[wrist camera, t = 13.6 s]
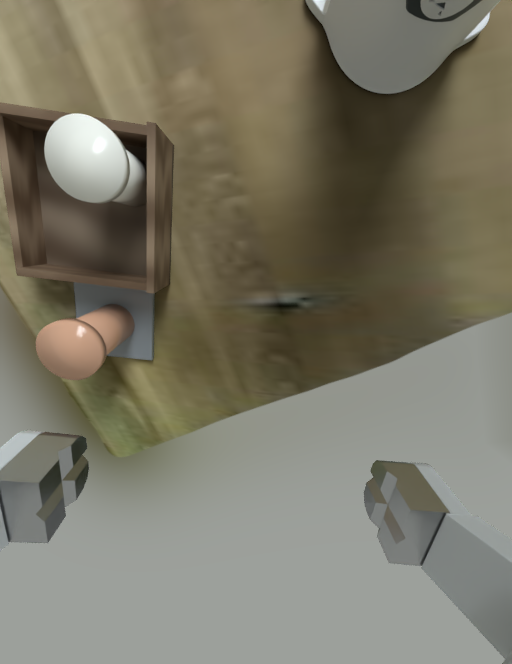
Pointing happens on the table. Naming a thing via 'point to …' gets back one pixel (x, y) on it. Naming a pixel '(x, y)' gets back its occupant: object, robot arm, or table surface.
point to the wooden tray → (85, 209)
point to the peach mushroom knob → (83, 341)
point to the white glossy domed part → (94, 162)
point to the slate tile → (130, 299)
